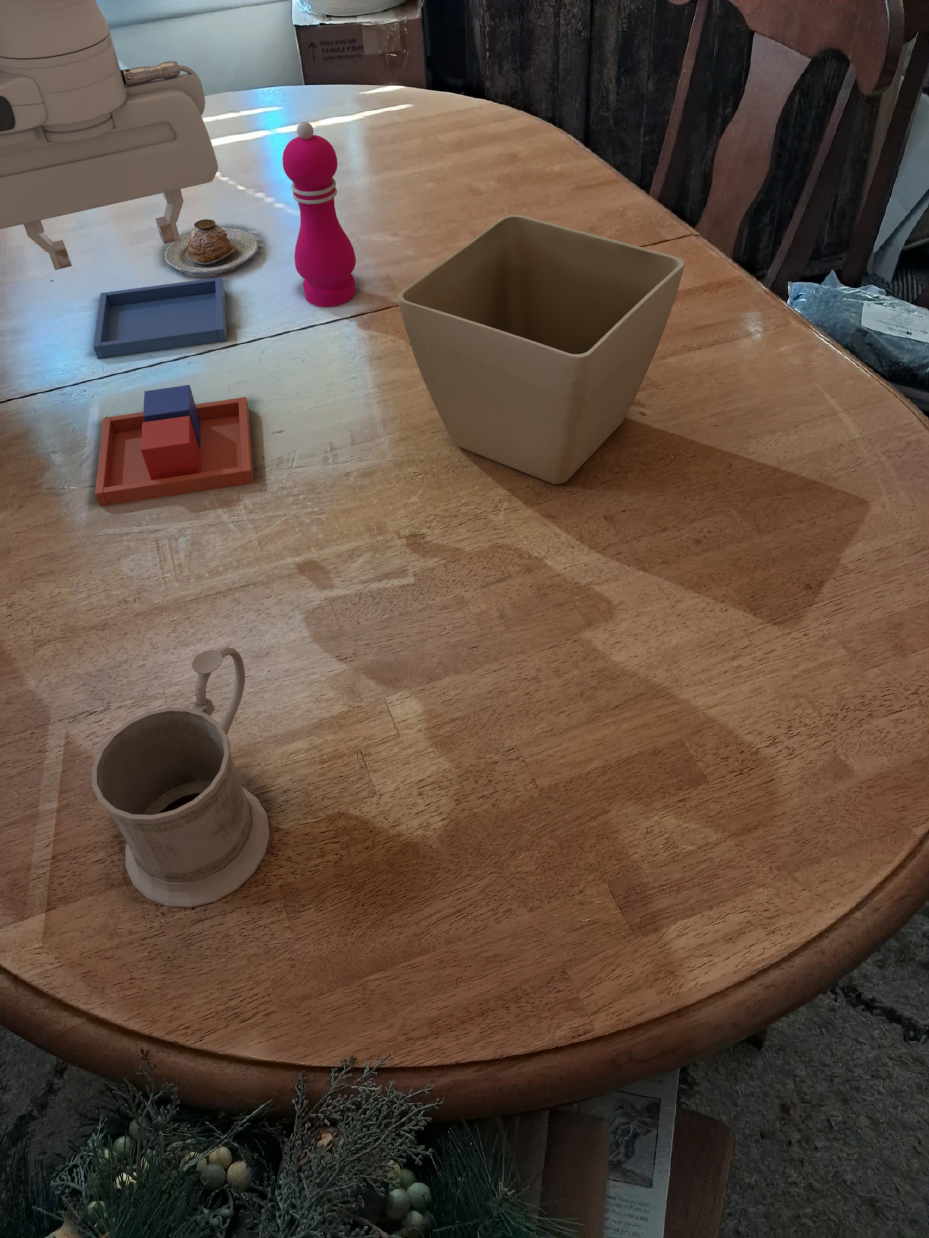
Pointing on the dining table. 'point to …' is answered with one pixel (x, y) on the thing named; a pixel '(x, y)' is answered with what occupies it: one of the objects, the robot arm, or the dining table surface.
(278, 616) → the dining table surface
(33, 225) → the robot arm
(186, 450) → the red block
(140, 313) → the blue tray
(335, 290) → the pepper mill
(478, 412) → the flower pot
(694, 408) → the dining table surface
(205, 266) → the pastry
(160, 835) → the mug
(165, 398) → the blue block
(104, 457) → the red tray
